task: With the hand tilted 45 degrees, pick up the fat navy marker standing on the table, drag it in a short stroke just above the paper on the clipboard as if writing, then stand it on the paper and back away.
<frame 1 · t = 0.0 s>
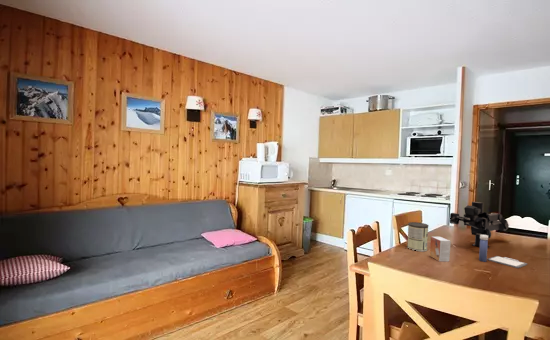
hand: (460, 222, 165), 17 cm above the table, tool horizontal, fingers open, 9 cm apart
marker: (482, 260, 151), on the table
clipboard: (506, 262, 150), on the table
coffee can: (416, 249, 169), on the table
small box: (439, 259, 152), on the table
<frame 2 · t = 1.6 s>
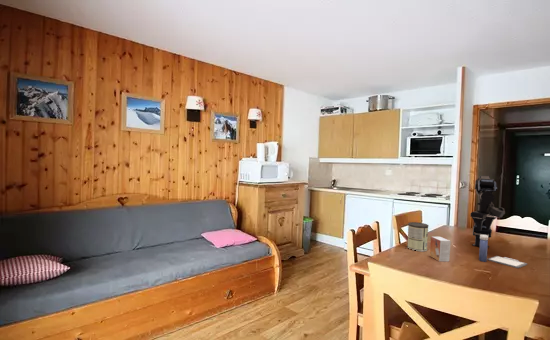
hand: (483, 230, 163), 13 cm above the table, tool pointing down, fingers open, 9 cm apart
nothing on the table moved.
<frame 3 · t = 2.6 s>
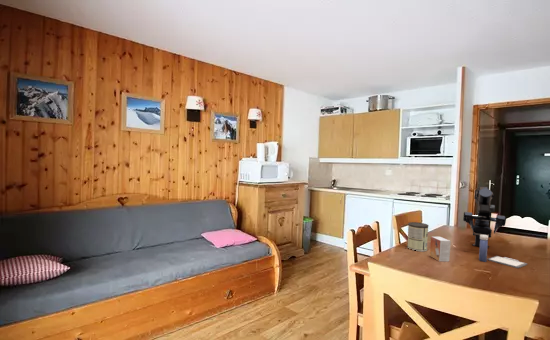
hand: (483, 231, 158), 13 cm above the table, tool tilted 45°, fingers open, 9 cm apart
nothing on the table moved.
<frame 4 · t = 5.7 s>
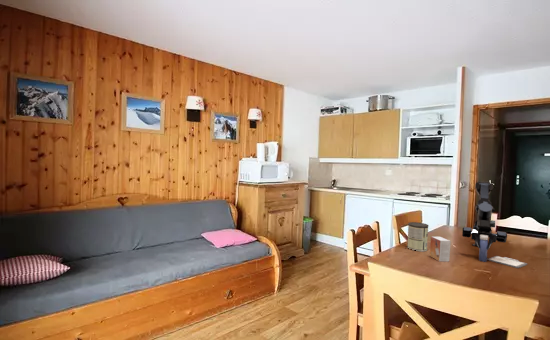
hand: (483, 248, 150), 7 cm above the table, tool tilted 45°, fingers closed on marker, 3 cm apart
marker: (482, 260, 151), on the table, touching gripper
everything else where it was.
when the fingers open (8 cm above the table, at t = 9.9 s): marker stays where it is, resting on clipboard.
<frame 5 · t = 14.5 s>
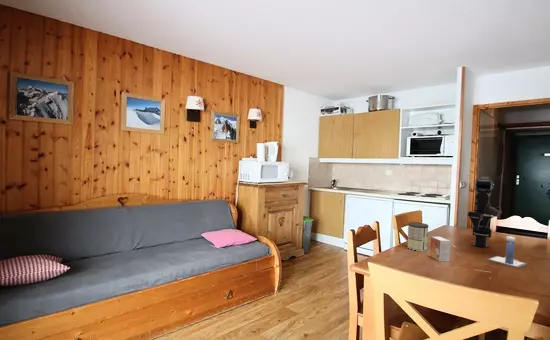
hand: (480, 229, 165), 13 cm above the table, tool pointing down, fingers open, 9 cm apart
marker: (509, 263, 147), point 1 cm above the table, touching clipboard
everything else where it was.
at the end: marker inside the target area on the clipboard (3.6 cm from its centre), point 0.7 cm above the clipboard's base; marker tilted 0°; the gripper is holding nothing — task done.
